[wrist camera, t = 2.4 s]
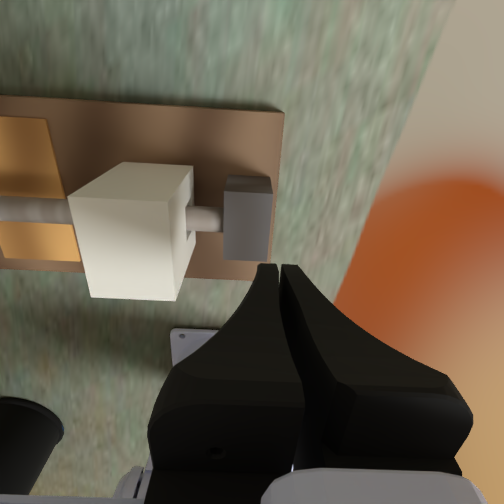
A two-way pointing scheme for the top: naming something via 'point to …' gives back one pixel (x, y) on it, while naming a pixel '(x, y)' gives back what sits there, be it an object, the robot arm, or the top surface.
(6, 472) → the aerosol can
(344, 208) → the top surface
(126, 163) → the sleeve
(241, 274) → the rail board
